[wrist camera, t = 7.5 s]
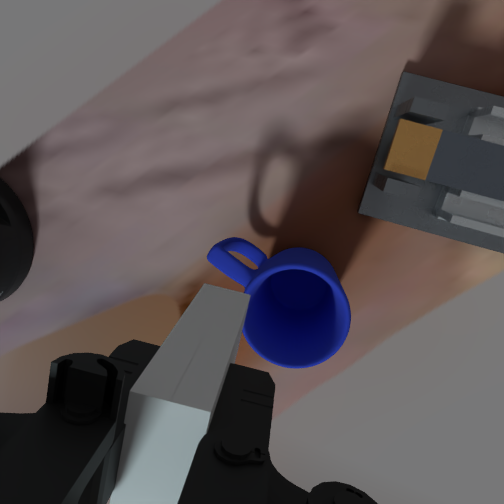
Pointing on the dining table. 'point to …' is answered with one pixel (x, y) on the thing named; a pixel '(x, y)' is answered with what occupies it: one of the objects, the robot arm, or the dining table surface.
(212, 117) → the dining table surface
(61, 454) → the robot arm
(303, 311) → the mug
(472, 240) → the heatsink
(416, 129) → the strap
